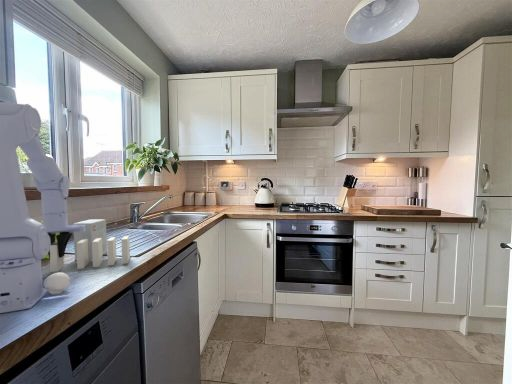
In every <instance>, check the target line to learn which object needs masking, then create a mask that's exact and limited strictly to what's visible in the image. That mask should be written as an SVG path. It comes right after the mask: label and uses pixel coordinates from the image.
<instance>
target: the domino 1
mask: <svg viewBox="0 0 512 384" xmlns="http://www.w3.org/2000/svg"><path fill="white" fill-rule="evenodd" d="M64 257H65V256H63V257H60V258H59V255H58V242H57V241H55V242H53V243H51V245H50V258H49V261H50V265H51V272H56V271H59V270H60V269H61V268H62V267H63V266H64V264H65V263H64V259H65V258H64Z"/></svg>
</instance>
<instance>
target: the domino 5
mask: <svg viewBox="0 0 512 384" xmlns="http://www.w3.org/2000/svg"><path fill="white" fill-rule="evenodd" d="M130 250H131V249H130V235H124V236H123V237H122V238H121V258H122V264H125V263H128V262H129V263H130V261H129V260H131V259H130V257H131V253H130ZM129 263H128V264H129Z"/></svg>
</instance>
